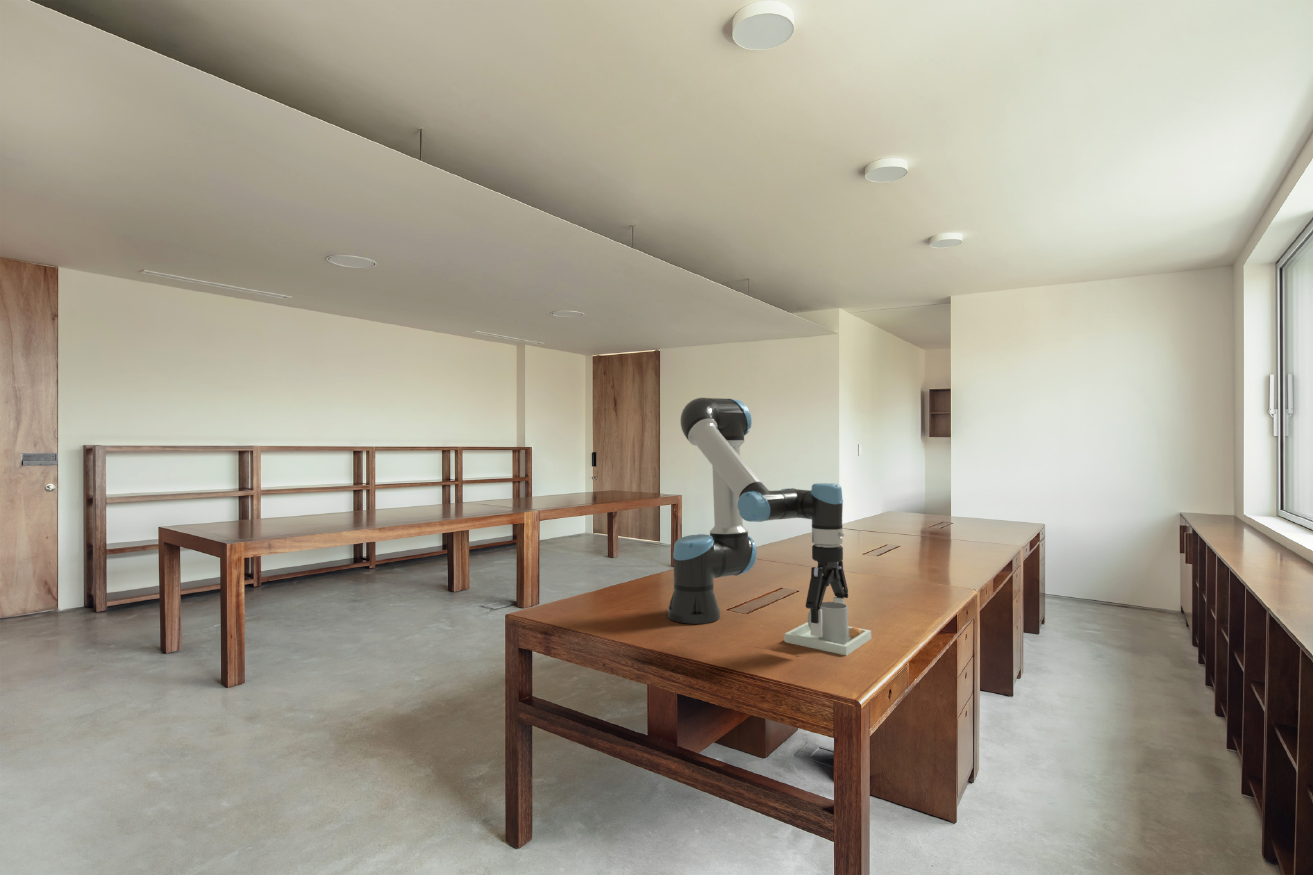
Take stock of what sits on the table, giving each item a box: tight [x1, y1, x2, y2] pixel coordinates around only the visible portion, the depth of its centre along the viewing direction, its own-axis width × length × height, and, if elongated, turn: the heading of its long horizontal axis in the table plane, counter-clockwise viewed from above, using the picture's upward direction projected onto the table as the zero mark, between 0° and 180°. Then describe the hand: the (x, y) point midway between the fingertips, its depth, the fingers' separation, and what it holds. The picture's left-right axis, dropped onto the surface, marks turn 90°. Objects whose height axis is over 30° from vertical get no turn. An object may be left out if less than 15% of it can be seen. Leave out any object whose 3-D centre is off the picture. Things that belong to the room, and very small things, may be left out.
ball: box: [849, 626, 861, 639], centre depth 155 cm, size 3×3×3 cm
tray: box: [783, 621, 872, 656], centre depth 154 cm, size 16×16×3 cm
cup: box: [807, 601, 849, 645], centre depth 154 cm, size 7×10×9 cm
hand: (828, 629), depth 154 cm, fingers open, 13 cm apart
